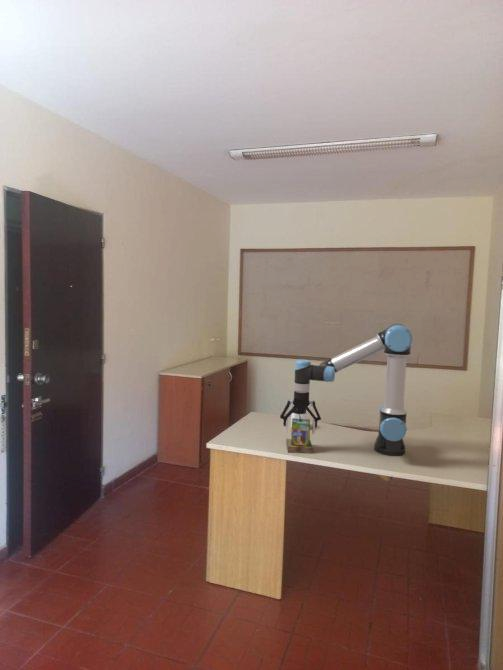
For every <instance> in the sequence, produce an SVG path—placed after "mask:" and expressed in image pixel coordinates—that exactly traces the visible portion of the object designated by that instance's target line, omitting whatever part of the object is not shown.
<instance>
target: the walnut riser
mask: <svg viewBox="0 0 503 670" xmlns="http://www.w3.org/2000/svg"><path fill="white" fill-rule="evenodd" d="M285 445H286V449H287V453H292V454H313V452H314V450H313V449H314V447H313V444H312V441H311V440H310V446H298V445H291V438H286V442H285Z"/></svg>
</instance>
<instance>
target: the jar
mask: <svg viewBox="0 0 503 670" xmlns="http://www.w3.org/2000/svg"><path fill="white" fill-rule="evenodd" d="M292 408H293V406H292V407H291V409H292ZM299 413H300V417H301V419H307V418H308V417H307V416H308V413H307V410H306V409H305V410H298V409H296V410H295V411H294V412H293V413H292V414H291V415H290V428H291V429H292V418H296V419H299V418H300V417H299Z"/></svg>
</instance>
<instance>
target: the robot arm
mask: <svg viewBox="0 0 503 670" xmlns="http://www.w3.org/2000/svg"><path fill="white" fill-rule="evenodd" d="M412 343H413V334H412V332H411V330H410V329H409V328H408V327H407V326H405V325H404V324H401V323H393V324H391V325H389V326H388V327H386V328H385V329H384V330H382V331H380V332H378V333H376V336H374V337H373V338H370V339H368V340H366V341H364V342H361V343H360V344H358V345H356V346H354V347H352V348H350V349H348V350H345V351H344V352H342V353H340V354H337V355H335V356H333V357H331V358H329V359H327V360H324V361H321V362H320V363H319V365H315V364H312V363H311V361H310V360H309V359H298V360H296V361H295V367H294V386H293V390H294V391H293V400H290V399H287V401H286V404H285V407H284V409H283V410H282V412H281V414H280V415H279V417H280V419H282V420H283V426H284V427H285V431H284V432H285V434H288V424H289V422H288V418H289V417H291V414H292V413H293V412H294V411H295V410H296V409H298V410H305V409H306V412H308V414H309V415H310V416H311V417H312V418H313V419H312V428H311V429H312V434H313V435H315V433H316V431H315V430H316V428H317V427H318V422H319V421H322V418H321V415H320V413H319V411H318V409H317V406H316V402H315V400H312V401H311V400H310V389H311V388H310V383H311V381H315V382H317V381H318V382H326V383H328V382H330V383H332V382H335V380H336V379H335V378H336V377H335V376H336V373H338V372H340V371H343V369H344V370H345V369H346V368H348V367H350V366H353V365H355V364H357V363H358V362H361V361H364V360H366V359H367V358H369V357H371V356H374V355H376V354H378V353H380V352H382V351H384V355H385V356H386V358H387V359H386V374H385V388H384V389H385V393H384V404H383V405H380V409H379V419H378V420H379V423H378V435H377V437H376V439H375V442H374V446H373V448H374V451H375V452H377V453H379V454H382V455H387V456H393V457H398V456H402V455H405V454H406V446H405V442H404V437H405V436H406V434H407V430H408V429H407V411H406V410H405V408H404V405H405V404H404V403H405V389H406V388H405V387H406V373H407V359H408V357H410V356H411V346H412ZM291 405H293V406H292V407H293V408H292V407H291V409H290V410H289V407H290V406H291ZM310 405H311V406H312V407H313V408H312V409H314V412H312V410H311V409H310V408H309V406H310ZM288 410H289V411H288ZM287 411H288V412H287ZM314 413H315V414H316V416H315V414H314Z"/></svg>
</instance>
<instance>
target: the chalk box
mask: <svg viewBox="0 0 503 670" xmlns="http://www.w3.org/2000/svg"><path fill="white" fill-rule="evenodd" d="M299 417H300V413H299ZM290 439H291V445H298V446H310V441H311V421H310V419H309V418H308V419H301V417H300V418H299V419H296V418H292V428H291V437H290Z"/></svg>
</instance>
